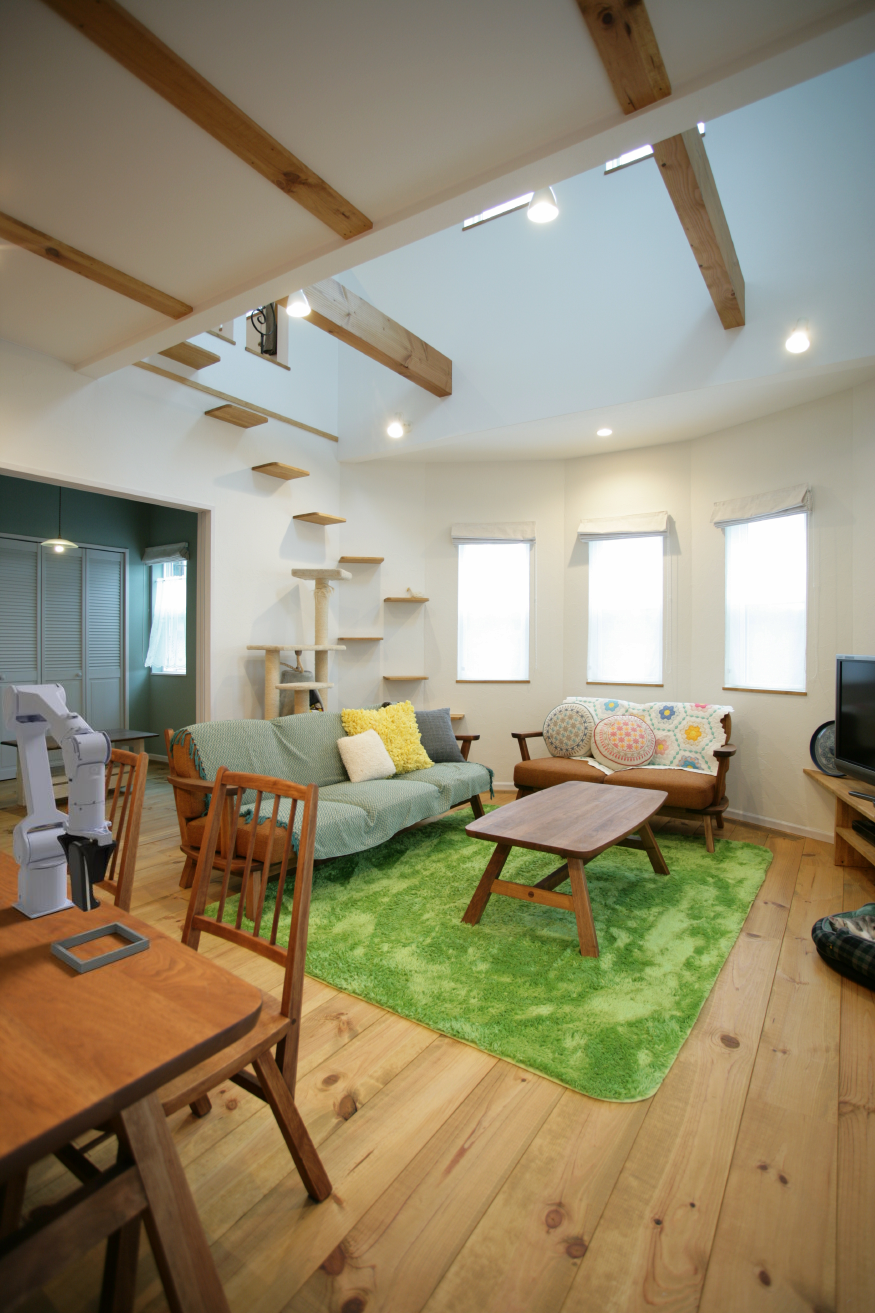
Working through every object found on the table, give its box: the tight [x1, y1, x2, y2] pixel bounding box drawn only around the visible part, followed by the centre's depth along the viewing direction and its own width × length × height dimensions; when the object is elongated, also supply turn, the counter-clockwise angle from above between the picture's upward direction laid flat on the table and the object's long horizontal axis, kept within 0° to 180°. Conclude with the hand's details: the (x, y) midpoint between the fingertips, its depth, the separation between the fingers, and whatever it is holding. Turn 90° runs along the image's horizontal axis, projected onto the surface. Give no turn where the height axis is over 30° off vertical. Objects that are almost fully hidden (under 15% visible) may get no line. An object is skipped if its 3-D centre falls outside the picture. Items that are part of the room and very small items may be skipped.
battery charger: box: [68, 839, 102, 913], centre depth 116 cm, size 7×4×11 cm, turn 45°
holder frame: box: [50, 921, 150, 975], centre depth 111 cm, size 11×11×2 cm
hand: (86, 877), depth 117 cm, fingers closed on battery charger, 7 cm apart
